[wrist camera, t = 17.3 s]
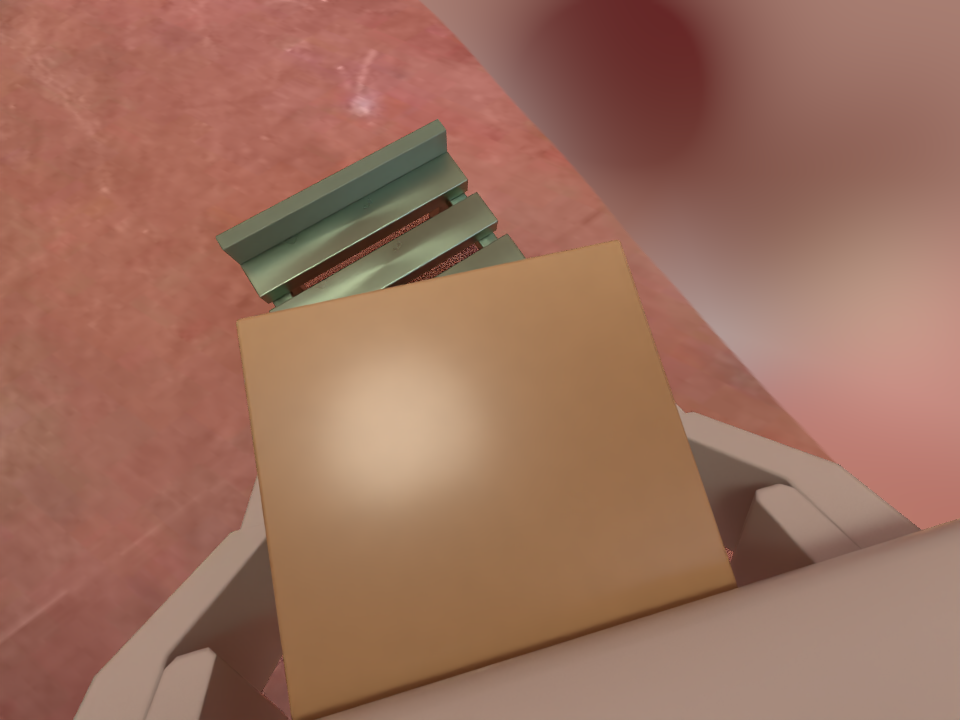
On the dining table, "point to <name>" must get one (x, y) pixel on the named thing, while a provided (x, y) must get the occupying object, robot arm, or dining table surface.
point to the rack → (369, 226)
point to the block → (469, 474)
